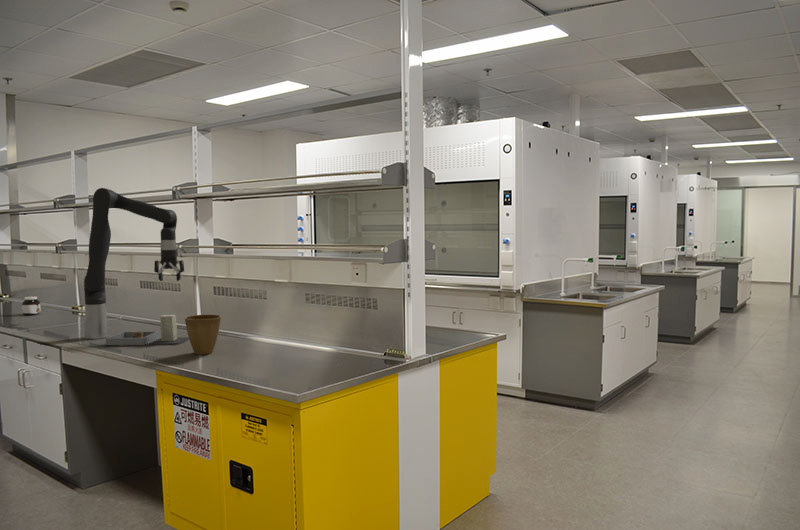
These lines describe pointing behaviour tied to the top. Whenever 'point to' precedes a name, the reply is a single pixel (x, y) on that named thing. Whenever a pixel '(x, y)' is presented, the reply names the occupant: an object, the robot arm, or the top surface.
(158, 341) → the place mat
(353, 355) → the top surface
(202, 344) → the plant pot
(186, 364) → the top surface
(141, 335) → the walnut block
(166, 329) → the skincare box
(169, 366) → the top surface
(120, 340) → the parts bin
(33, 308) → the spread jar
